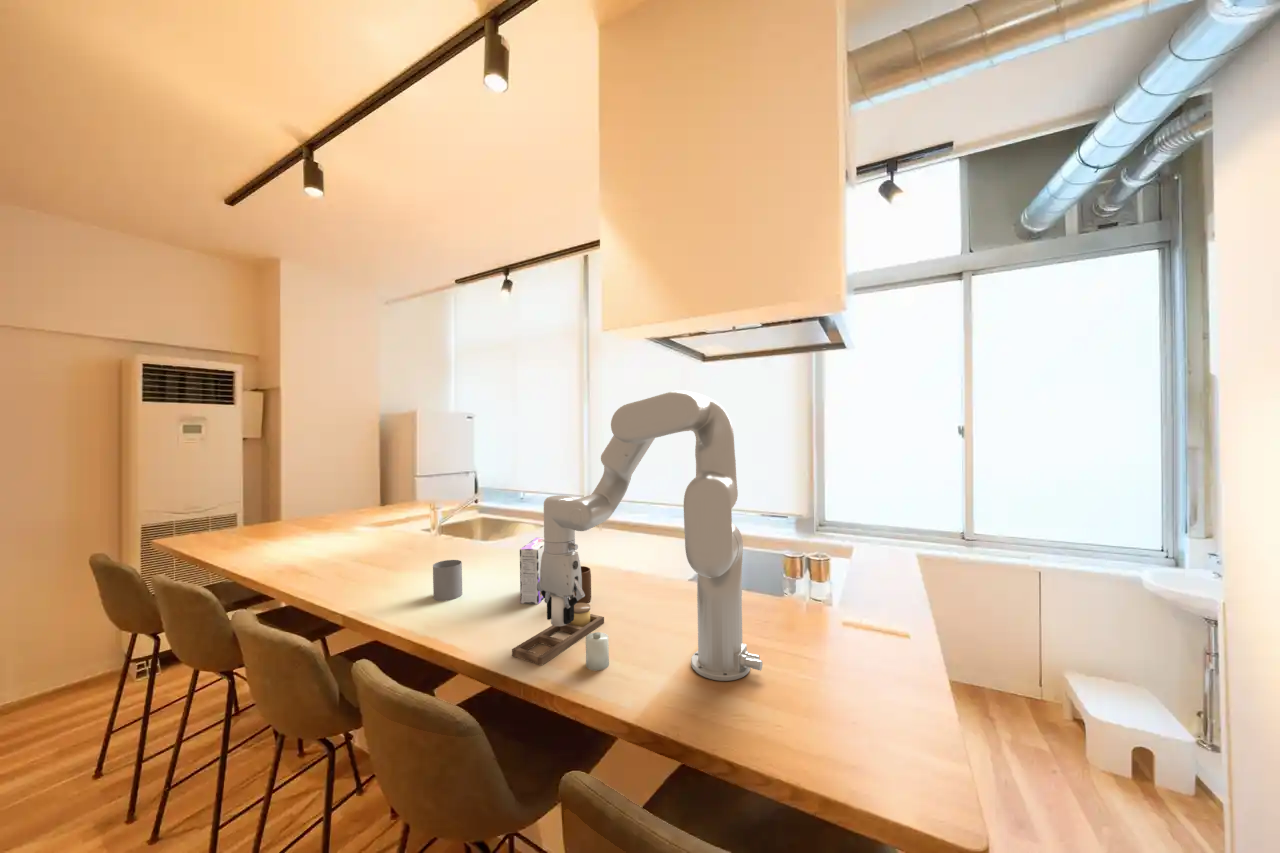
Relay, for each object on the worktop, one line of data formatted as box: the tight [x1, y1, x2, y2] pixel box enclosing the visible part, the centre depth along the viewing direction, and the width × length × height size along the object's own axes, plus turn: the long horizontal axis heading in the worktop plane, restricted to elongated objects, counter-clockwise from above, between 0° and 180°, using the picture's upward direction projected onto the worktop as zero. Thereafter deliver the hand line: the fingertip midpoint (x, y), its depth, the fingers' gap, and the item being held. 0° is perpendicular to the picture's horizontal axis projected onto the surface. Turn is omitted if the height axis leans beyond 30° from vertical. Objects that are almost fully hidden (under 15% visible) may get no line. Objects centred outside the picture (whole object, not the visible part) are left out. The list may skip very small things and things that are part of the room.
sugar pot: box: [585, 631, 610, 672], centre depth 102 cm, size 5×5×7 cm
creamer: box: [550, 593, 570, 626], centre depth 115 cm, size 6×4×6 cm
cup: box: [432, 559, 463, 602], centre depth 145 cm, size 8×8×10 cm
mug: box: [574, 565, 592, 604], centre depth 137 cm, size 12×8×9 cm, turn 147°
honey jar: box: [570, 602, 591, 627], centre depth 122 cm, size 5×5×5 cm
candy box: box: [519, 537, 544, 605], centre depth 144 cm, size 14×6×16 cm, turn 172°
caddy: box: [511, 613, 605, 666], centre depth 115 cm, size 9×24×2 cm, turn 150°
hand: (560, 619), depth 115 cm, fingers closed on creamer, 4 cm apart
